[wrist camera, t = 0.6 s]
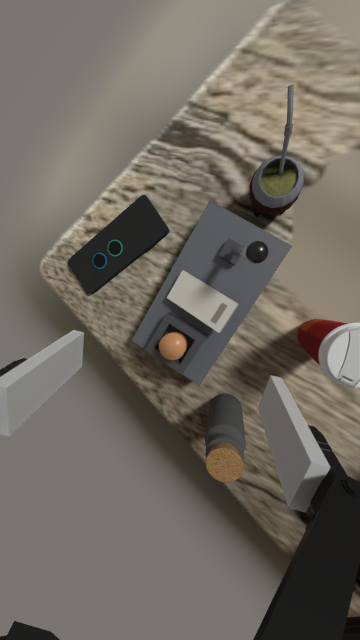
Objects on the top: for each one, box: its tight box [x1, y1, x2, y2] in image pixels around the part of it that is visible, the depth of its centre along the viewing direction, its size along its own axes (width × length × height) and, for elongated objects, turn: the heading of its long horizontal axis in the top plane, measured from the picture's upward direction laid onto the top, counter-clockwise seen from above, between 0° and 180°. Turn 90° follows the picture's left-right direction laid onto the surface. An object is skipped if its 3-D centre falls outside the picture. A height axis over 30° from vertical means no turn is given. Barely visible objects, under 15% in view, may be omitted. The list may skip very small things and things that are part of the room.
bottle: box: [205, 394, 245, 482], centre depth 37 cm, size 6×6×15 cm
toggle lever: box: [230, 241, 269, 264], centre depth 29 cm, size 2×2×10 cm
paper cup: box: [298, 319, 360, 388], centre depth 33 cm, size 8×8×14 cm
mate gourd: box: [250, 85, 303, 217], centre depth 31 cm, size 8×8×15 cm
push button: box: [159, 331, 188, 360], centre depth 36 cm, size 4×4×2 cm
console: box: [132, 201, 292, 385], centre depth 39 cm, size 14×26×8 cm, turn 149°
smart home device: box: [68, 195, 169, 293], centre depth 44 cm, size 8×2×20 cm
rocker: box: [167, 270, 239, 333], centre depth 36 cm, size 10×5×1 cm, turn 59°
